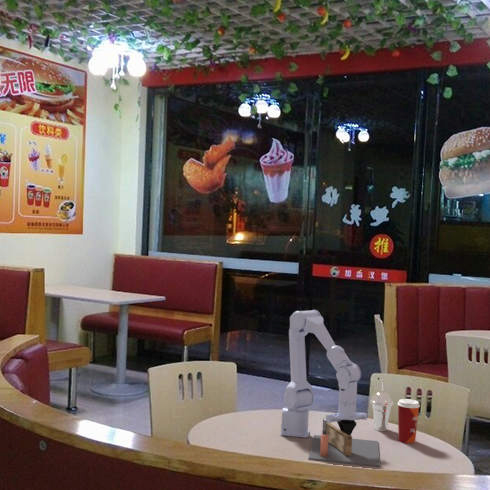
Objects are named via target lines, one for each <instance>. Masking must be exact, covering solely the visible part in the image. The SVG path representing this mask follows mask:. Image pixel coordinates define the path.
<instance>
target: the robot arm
mask: <svg viewBox="0 0 490 490" xmlns="http://www.w3.org/2000/svg"><path fill="white" fill-rule="evenodd" d="M309 333H310V334H314V335H315V337H316V338H317V340H318V341H319V342H320V343H321V345H322V346H323V348H324V349H325V350H326V357H327V359H328V361H329V362H330V363H331V365H332V366H333V368H334V370H335V371H336V373H335V375H336V376H335V377H336V379H337V382H338V383H337V386H338V390H339V391H338V412H337V413H332V414H327V415H325V419H326V422H328V423H331V424H332V423H335V422H336V423H337V425H338V428H339V429H340V430H341V431H343V432H344V433H346V434H347V435H351V436H352V433H353V431H354V429H355V428H356V426H357V420H358V421H360V420H365V421H367V420H368V413H366V412H357V394H358V392H357V391H358V382H359V380H360V379H361V377H362V370H361V368H360V366H359V365H358V364H356V363H354V362H353V361H351V360H350V359H349V357H348V355H347V354H346V352H345V349H344V348H343V347H342V346H340V345H336V344H335V341H334V340H333V338H332V336H331V335H330V333H329V331H328V329H327V327H326V326H325V324H324V317H323V316H322V315H321V313H320V312H319V311H318V310H317V309H312V310H295V311H294V312H293V313H292V314H291V315H290V316H289V329H288V339H289V341H288V343H289V362H290V363H289V364H290V365H289V367H290V382H289V383H288V385H286V387H285V393H284V398H283V402H284V405H285V406H286V407H283V408H282V411H281V412H282V413H281V424H280V428H281V429H280V430H281V431H280V435H281V436H287V437H294V438H295V437H298V438H308V437H309V436H310V429H309V415H310V414H309V412H310V409H311V406H312V405H313V404H314V402H315V396H314V392H313V390H312V385H311V384H310V383H309V381H307V367H306V366H307V362H306V361H307V360H306V341H305V340H306V339H305V336H307V335H308V334H309Z"/></svg>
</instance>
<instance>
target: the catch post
mask: <svg viewBox="0 0 490 490" xmlns="http://www.w3.org/2000/svg"><path fill="white" fill-rule="evenodd" d="M320 436H321V447H320V456H321V457H327V456H328V438H329V436H328V435H325V434H323V435H322V434H321V435H320Z"/></svg>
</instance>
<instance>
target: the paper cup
mask: <svg viewBox="0 0 490 490" xmlns="http://www.w3.org/2000/svg"><path fill="white" fill-rule="evenodd" d="M420 407H421V405H420V402H419V401H418V400H415V399H412V398H411V399H410V398H401V399H399V400H398V402H397V409H398V412H397V413H398V417H397V418H398V422H397V423H398V424H397V425H398V430H397V431H398V441H399V442H400V443H403V444H408V443H411V444H415V443H416V438H417V430H418V429H417V426H418V419H419V409H420Z"/></svg>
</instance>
